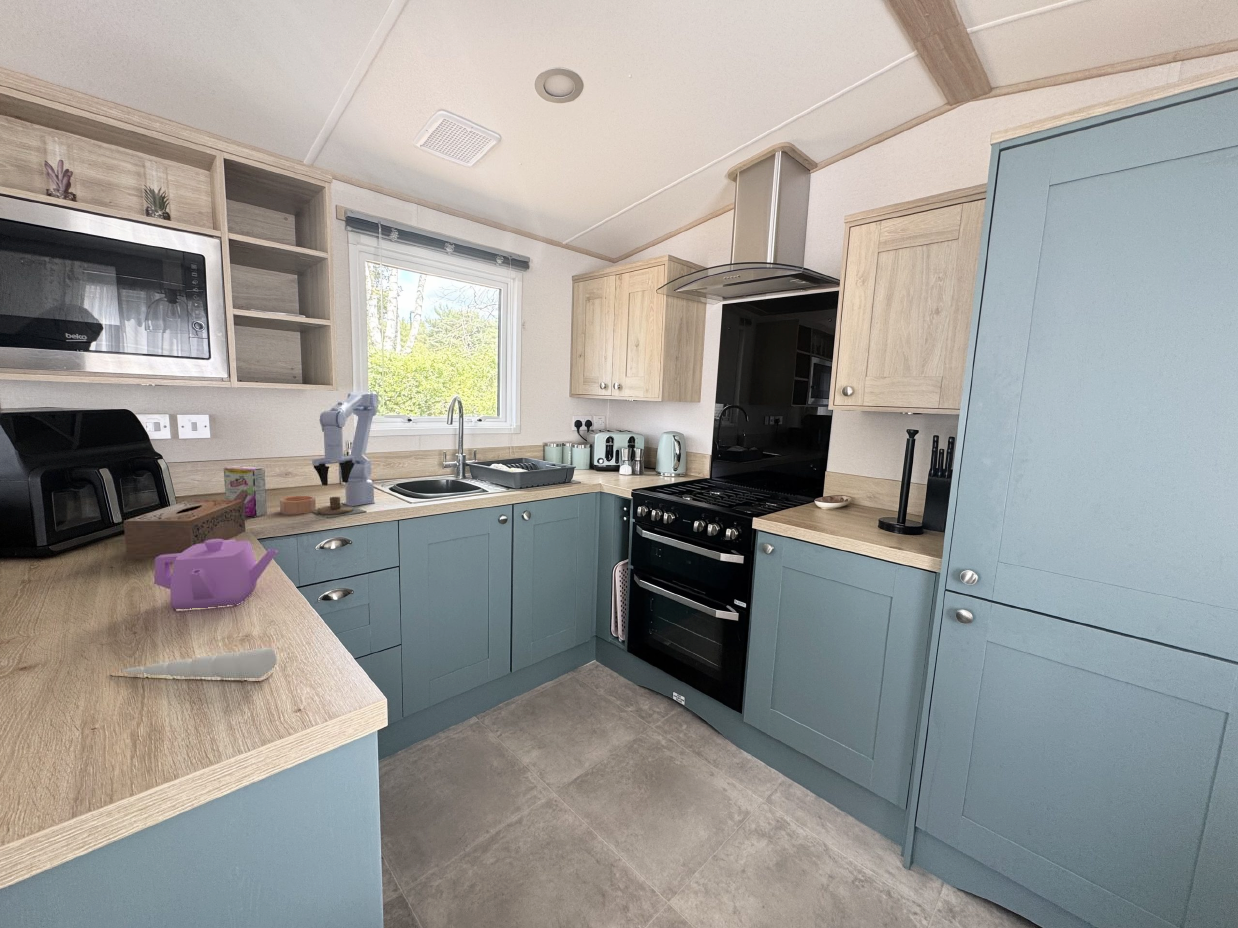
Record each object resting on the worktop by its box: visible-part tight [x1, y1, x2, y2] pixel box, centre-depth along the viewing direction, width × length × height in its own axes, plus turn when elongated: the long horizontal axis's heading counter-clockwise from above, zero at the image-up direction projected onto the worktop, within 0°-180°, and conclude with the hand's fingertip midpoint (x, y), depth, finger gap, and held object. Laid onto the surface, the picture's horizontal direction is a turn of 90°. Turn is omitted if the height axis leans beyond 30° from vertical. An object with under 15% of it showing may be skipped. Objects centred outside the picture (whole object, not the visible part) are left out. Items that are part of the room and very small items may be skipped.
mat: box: [311, 506, 367, 519], centre depth 185 cm, size 13×13×1 cm
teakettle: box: [153, 539, 279, 610], centre depth 108 cm, size 17×17×12 cm
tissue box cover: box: [123, 499, 246, 560], centre depth 143 cm, size 26×14×10 cm, turn 10°
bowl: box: [279, 495, 317, 515], centre depth 184 cm, size 10×10×4 cm
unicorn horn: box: [121, 647, 277, 678], centre depth 80 cm, size 5×24×5 cm, turn 89°
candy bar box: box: [223, 465, 268, 518], centre depth 175 cm, size 11×5×16 cm, turn 84°
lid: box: [316, 496, 354, 516], centre depth 184 cm, size 11×11×5 cm
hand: (335, 483), depth 183 cm, fingers open, 7 cm apart
